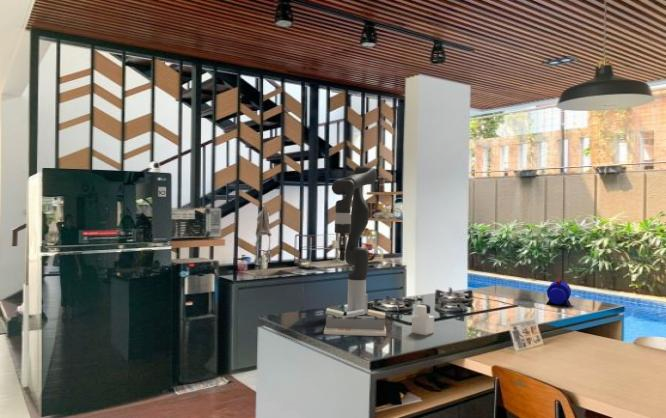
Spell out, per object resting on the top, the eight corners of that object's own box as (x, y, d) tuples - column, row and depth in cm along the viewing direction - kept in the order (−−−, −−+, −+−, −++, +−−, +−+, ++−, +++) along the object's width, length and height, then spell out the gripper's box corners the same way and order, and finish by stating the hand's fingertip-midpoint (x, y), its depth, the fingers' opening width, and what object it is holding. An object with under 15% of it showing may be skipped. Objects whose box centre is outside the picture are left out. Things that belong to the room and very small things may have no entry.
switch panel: (385, 329, 226) (385, 316, 226) (386, 336, 213) (386, 322, 213) (326, 327, 228) (326, 314, 228) (323, 334, 215) (324, 321, 215)
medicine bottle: (419, 330, 226) (420, 302, 226) (434, 332, 221) (434, 304, 221) (411, 332, 220) (411, 304, 220) (426, 335, 216) (426, 307, 216)
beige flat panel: (384, 318, 224) (385, 312, 224) (384, 320, 219) (385, 315, 219) (366, 314, 225) (368, 309, 225) (366, 316, 220) (368, 311, 220)
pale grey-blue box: (364, 314, 225) (363, 308, 225) (364, 316, 220) (363, 311, 220) (347, 317, 225) (346, 312, 226) (347, 319, 220) (346, 314, 221)
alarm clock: (571, 304, 298) (571, 278, 298) (568, 307, 287) (568, 280, 287) (548, 302, 304) (549, 276, 304) (545, 305, 294) (545, 279, 294)
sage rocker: (342, 317, 226) (343, 311, 226) (342, 319, 221) (343, 314, 221) (325, 313, 226) (327, 308, 226) (325, 315, 221) (326, 310, 221)
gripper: (335, 222, 244) (335, 258, 244) (333, 223, 231) (333, 261, 231) (351, 222, 243) (350, 259, 243) (350, 223, 230) (349, 262, 230)
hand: (342, 260), depth 237 cm, fingers closed
